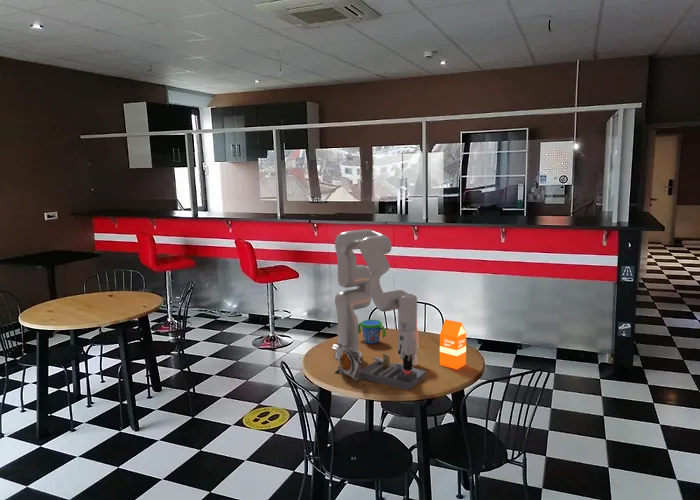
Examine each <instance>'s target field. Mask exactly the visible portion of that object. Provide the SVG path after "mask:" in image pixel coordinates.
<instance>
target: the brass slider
mask: <svg viewBox="0 0 700 500" xmlns="http://www.w3.org/2000/svg"><path fill="white" fill-rule="evenodd" d="M382 357H383V358H382V359H383V367H386V368H389V367H390V363H391V354H390V353H386V352H385V353H383V354H382Z"/></svg>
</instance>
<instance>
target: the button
mask: <svg viewBox="0 0 700 500" xmlns="http://www.w3.org/2000/svg"><path fill="white" fill-rule="evenodd" d="M403 374H405V375H409V376H410V375H411V370H410V371H409V370H405V369H403Z"/></svg>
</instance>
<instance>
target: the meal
mask: <svg viewBox="0 0 700 500" xmlns="http://www.w3.org/2000/svg"><path fill="white" fill-rule="evenodd" d="M335 345H337V346H338V348H339V349H340V350H341V351H340V354H339V357H338V359H336V360H337V362H338V365H339V366H338V367H337V370H335V371H334V372H335V373H334V374H341V375H346V376H349V377H351V379H353V380H356V383H359V381H360V379H361V376H360V378H359V374H360V372H361V370H362V366H363V363H362V361H361V358H360V359H359V353H358V352H354V350H353V349H352V348H351V347H349V346H347V345H346V344H339V343H338V342H336V343H335ZM359 371H360V372H359Z"/></svg>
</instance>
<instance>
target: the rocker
mask: <svg viewBox="0 0 700 500" xmlns="http://www.w3.org/2000/svg"><path fill="white" fill-rule="evenodd" d="M373 361H378V362H381V363H383V358H381V357H379V356H377V355H376V356H375V357H374V358H373Z"/></svg>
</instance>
